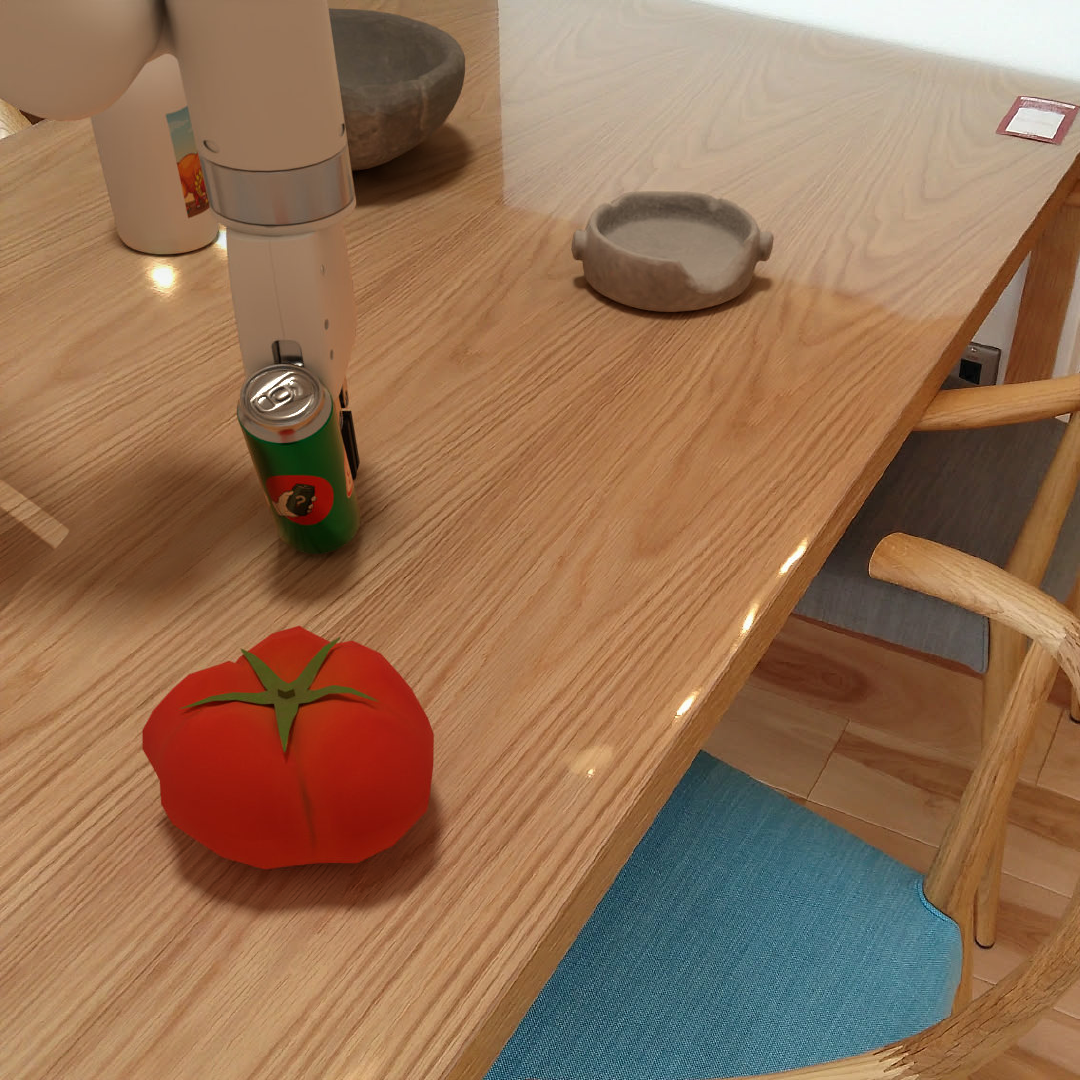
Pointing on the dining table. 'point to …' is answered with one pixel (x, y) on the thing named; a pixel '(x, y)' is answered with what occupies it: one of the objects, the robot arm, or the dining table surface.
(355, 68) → the bowl
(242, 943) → the dining table surface
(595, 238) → the dish
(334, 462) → the soda can
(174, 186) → the milk bottle
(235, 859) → the tomato
